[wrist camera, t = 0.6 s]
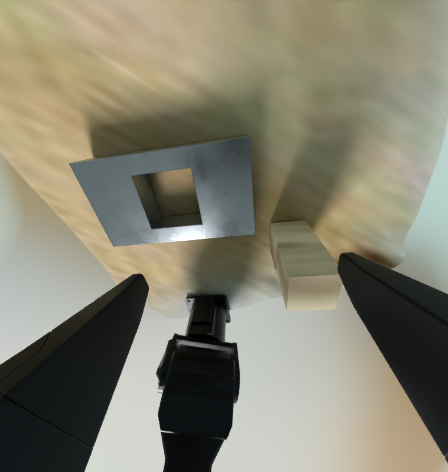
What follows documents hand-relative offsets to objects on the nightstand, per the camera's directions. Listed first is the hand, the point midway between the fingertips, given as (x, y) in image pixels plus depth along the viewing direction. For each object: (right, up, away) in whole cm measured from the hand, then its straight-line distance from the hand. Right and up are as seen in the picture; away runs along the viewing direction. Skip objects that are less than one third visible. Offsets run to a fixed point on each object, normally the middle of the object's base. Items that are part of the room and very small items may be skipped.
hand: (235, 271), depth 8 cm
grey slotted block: (-6, +6, +12) cm, 15 cm away
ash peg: (+7, +2, +14) cm, 16 cm away
